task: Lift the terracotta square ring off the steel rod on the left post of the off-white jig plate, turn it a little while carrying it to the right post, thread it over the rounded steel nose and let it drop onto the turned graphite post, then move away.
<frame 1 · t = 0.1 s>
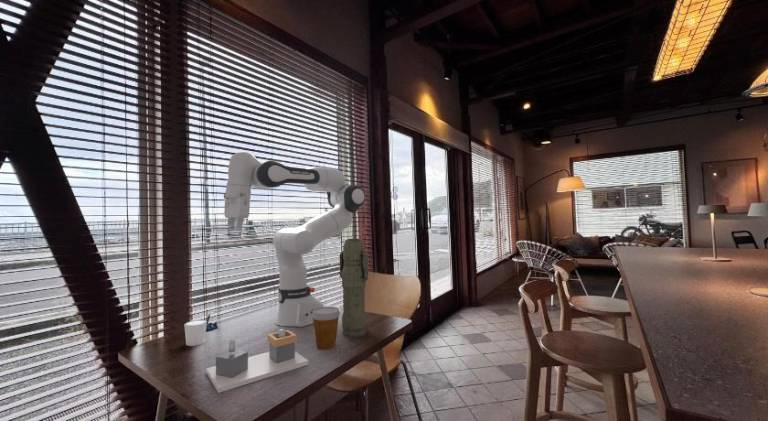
hand: (234, 230, 124), 39 cm above the table, tool pointing down, fingers open, 8 cm apart
thermos: (354, 334, 122), on the table
disposable coffee cup: (326, 346, 110), on the table
white cup: (195, 343, 115), on the table
bird: (209, 329, 130), on the table
jig plate: (258, 368, 94), on the table
ring: (281, 341, 99), point 6 cm above the table, touching jig plate
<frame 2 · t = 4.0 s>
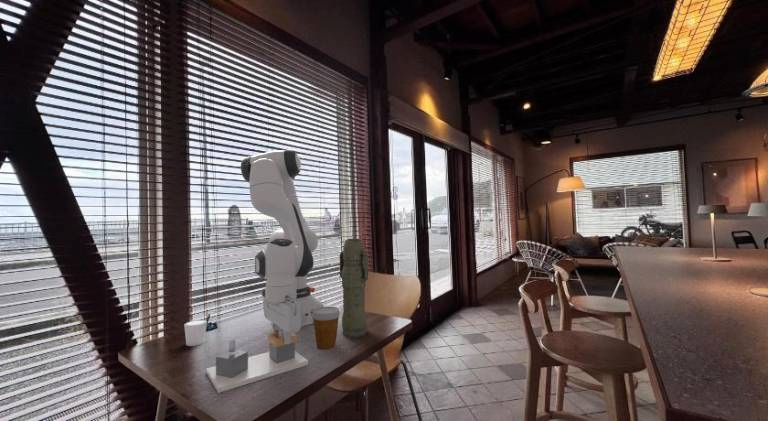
hand: (281, 339, 98), 7 cm above the table, tool pointing down, fingers closed on ring, 6 cm apart
ring: (282, 341, 99), point 6 cm above the table, touching gripper, jig plate
everything else where it was.
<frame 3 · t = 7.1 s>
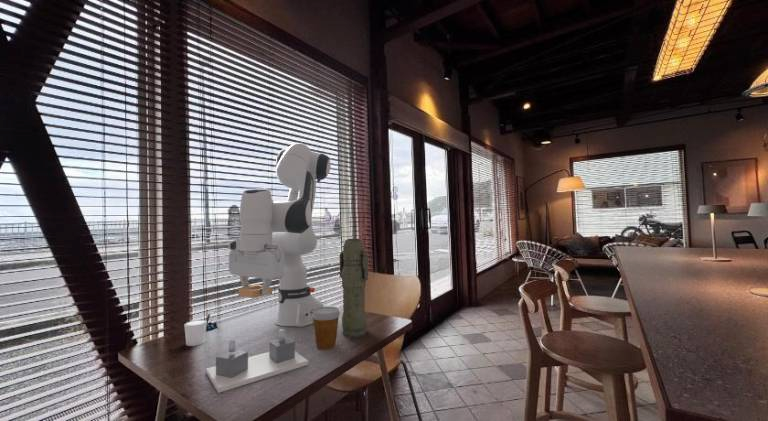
hand: (255, 292, 94), 22 cm above the table, tool pointing down, fingers closed on ring, 6 cm apart
ring: (255, 294, 94), point 21 cm above the table, touching gripper
everything else where it was.
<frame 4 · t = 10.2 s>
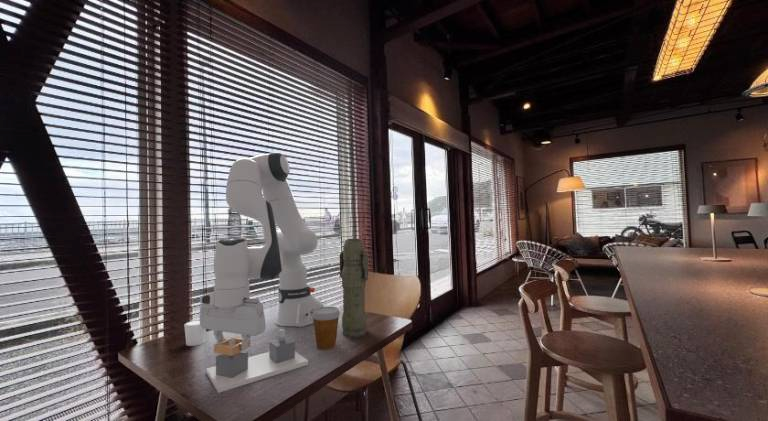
hand: (232, 347, 90), 8 cm above the table, tool pointing down, fingers closed on ring, 6 cm apart
ring: (232, 349, 90), point 7 cm above the table, touching gripper
everything else where it was.
when the fingers open (8 cm above the table, at t = 10.3 s): ring drops 1 cm, resting on jig plate.
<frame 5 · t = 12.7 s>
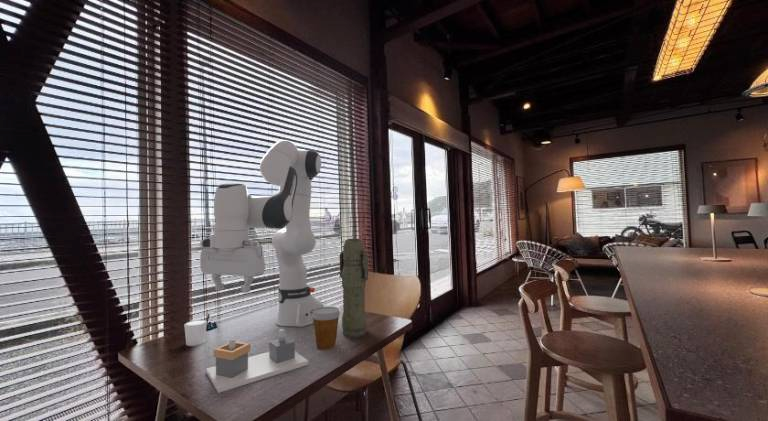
hand: (232, 291, 91), 23 cm above the table, tool pointing down, fingers open, 8 cm apart
ring: (232, 353, 90), point 6 cm above the table, touching jig plate
everything else where it was.
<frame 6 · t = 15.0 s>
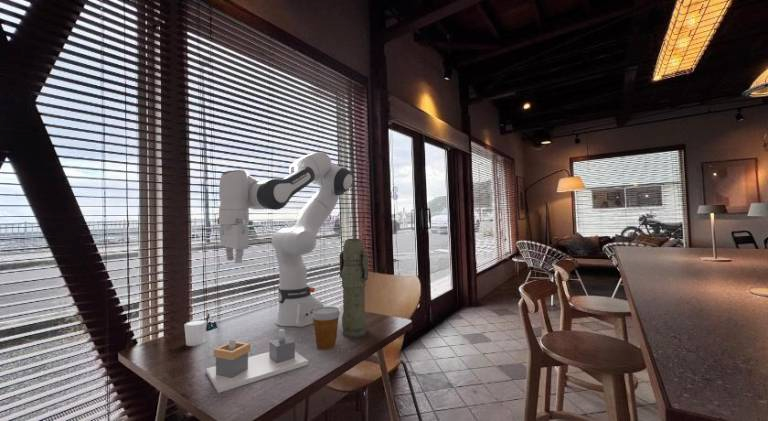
hand: (234, 261, 107), 29 cm above the table, tool pointing down, fingers open, 8 cm apart
at the end: ring 0.1 cm from the target spot, point 6.0 cm above the table; ring tilted 0°; the gripper is holding nothing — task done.
